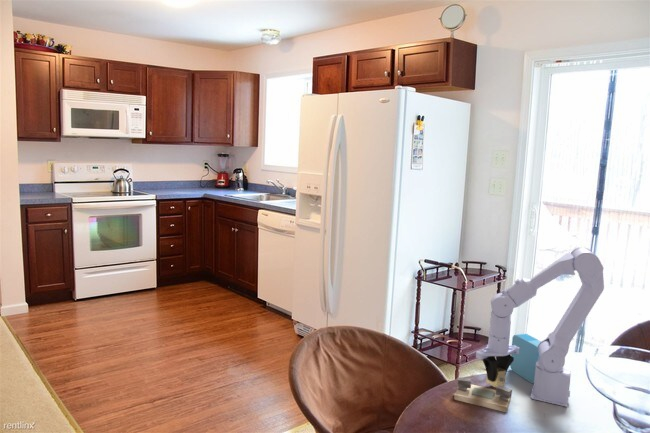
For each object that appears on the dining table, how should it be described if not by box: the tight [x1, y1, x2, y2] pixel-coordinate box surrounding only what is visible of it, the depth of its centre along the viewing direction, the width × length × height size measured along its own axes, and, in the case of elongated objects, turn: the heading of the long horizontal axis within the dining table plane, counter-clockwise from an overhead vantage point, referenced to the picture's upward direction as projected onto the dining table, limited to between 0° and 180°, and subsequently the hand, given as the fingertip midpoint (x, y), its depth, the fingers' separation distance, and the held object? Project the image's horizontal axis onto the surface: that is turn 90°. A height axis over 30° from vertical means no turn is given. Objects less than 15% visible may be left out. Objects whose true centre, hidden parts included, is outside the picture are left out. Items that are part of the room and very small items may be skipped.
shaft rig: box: [453, 376, 513, 413], centre depth 143 cm, size 15×9×4 cm, turn 64°
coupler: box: [485, 366, 507, 389], centre depth 150 cm, size 5×3×5 cm, turn 24°
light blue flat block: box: [509, 333, 542, 385], centre depth 158 cm, size 12×4×12 cm, turn 18°
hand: (495, 379), depth 150 cm, fingers closed on coupler, 3 cm apart
